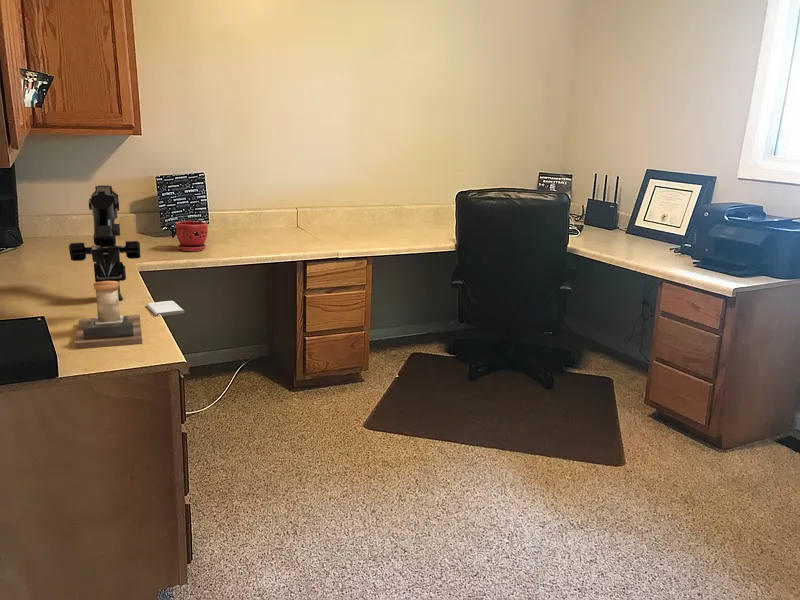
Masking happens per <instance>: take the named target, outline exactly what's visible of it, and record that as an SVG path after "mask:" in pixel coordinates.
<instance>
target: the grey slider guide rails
mask: <svg viewBox="0 0 800 600" xmlns="http://www.w3.org/2000/svg"><path fill="white" fill-rule="evenodd" d="M123 316H124V323H110V324H96V325H95V318H96V317H90V318H91V322H90V325H83V337H84V340H89V339H102V338H115V337H128V336H134V333H133V322H128V316H129V315H123Z"/></svg>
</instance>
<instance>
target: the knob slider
mask: <svg viewBox="0 0 800 600" xmlns="http://www.w3.org/2000/svg"><path fill="white" fill-rule="evenodd" d="M118 288H119V282H117V281H101V282H94V283H93V289H94V290H95V295H96V296H95V297H96V298H95V299H96V309H97V316H95V318H96V320H95V325H96V324H110V323H123V316H124V314H121V313H120V300H119V296H118Z"/></svg>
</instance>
